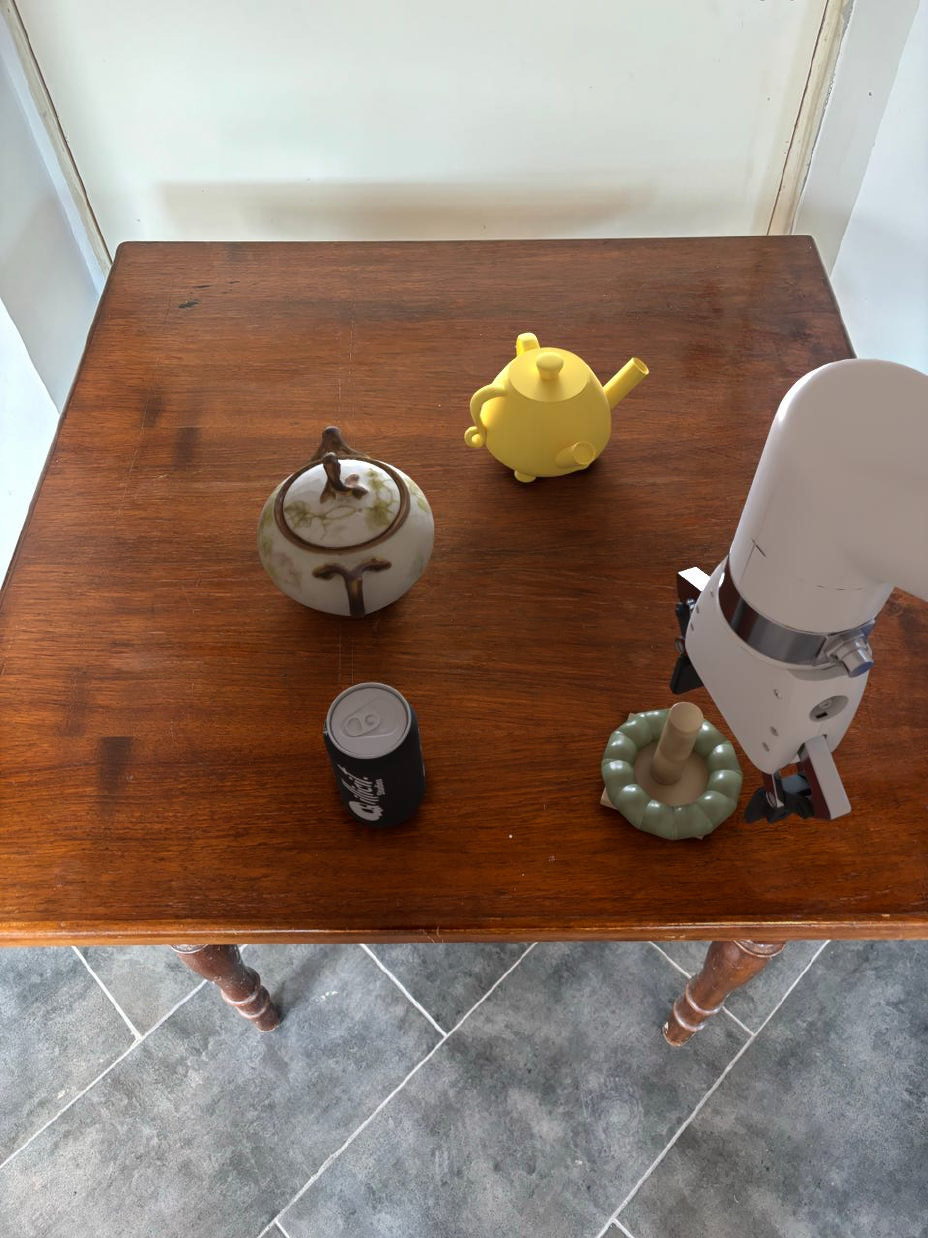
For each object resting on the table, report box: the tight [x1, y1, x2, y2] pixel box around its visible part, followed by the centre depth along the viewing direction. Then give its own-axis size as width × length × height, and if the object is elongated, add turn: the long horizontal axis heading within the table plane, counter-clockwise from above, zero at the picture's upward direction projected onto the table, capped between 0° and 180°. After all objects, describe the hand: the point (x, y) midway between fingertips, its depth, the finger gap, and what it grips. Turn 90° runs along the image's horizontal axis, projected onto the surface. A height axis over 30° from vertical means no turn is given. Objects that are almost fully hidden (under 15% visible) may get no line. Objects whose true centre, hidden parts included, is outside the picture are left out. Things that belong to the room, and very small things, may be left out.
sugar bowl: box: [256, 425, 435, 619], centre depth 79 cm, size 20×15×15 cm
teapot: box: [464, 332, 650, 483], centre depth 89 cm, size 14×14×11 cm
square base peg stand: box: [599, 701, 710, 840], centre depth 70 cm, size 8×8×10 cm
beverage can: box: [322, 682, 427, 828], centre depth 69 cm, size 7×7×12 cm
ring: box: [600, 707, 744, 841], centre depth 72 cm, size 10×10×2 cm
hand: (727, 745), depth 61 cm, fingers open, 9 cm apart
